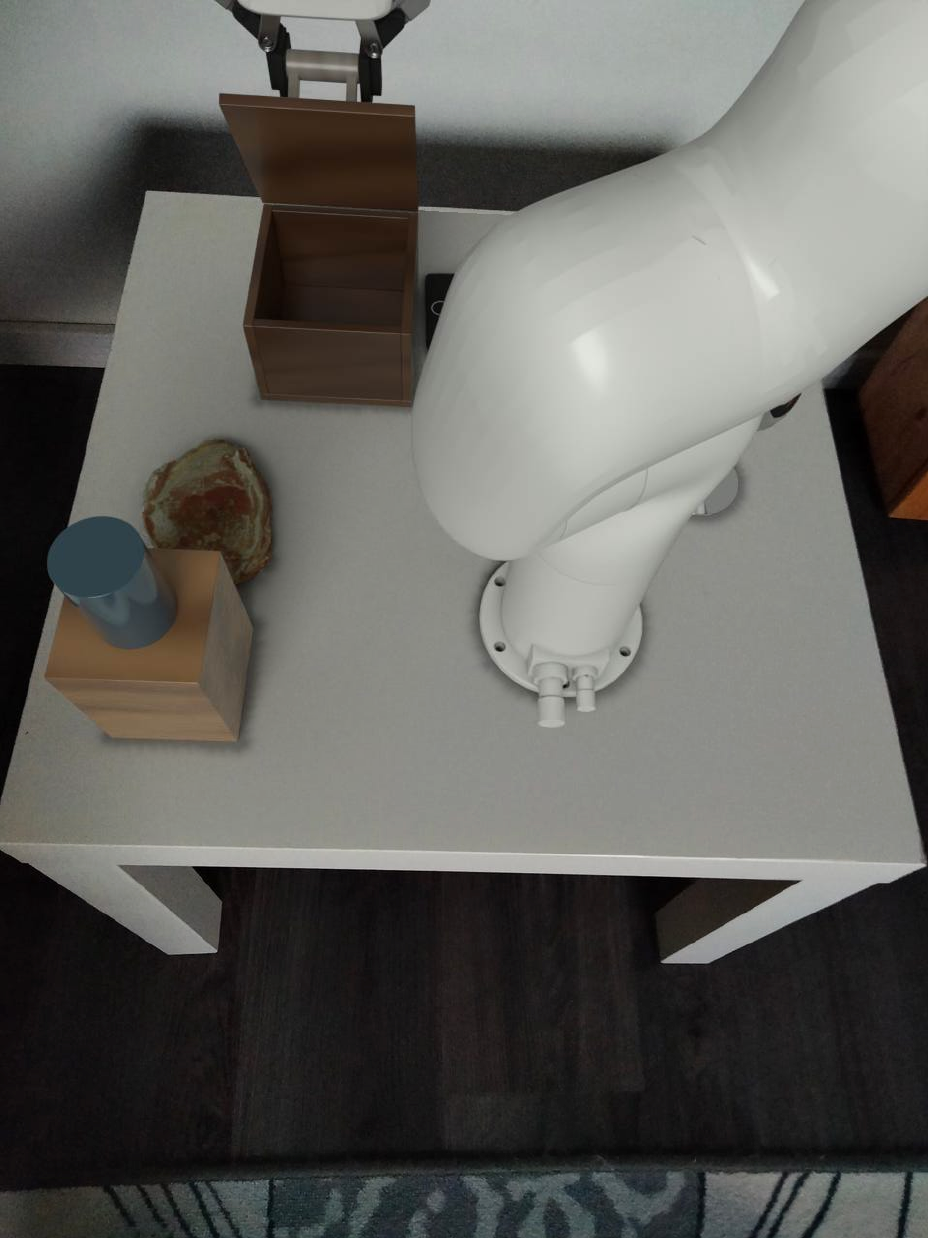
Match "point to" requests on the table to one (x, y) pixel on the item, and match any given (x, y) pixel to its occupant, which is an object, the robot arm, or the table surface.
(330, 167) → the lid
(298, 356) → the wooden box
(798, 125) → the robot arm
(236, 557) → the stone
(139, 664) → the stand
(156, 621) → the blue glossy cylinder
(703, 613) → the table surface
